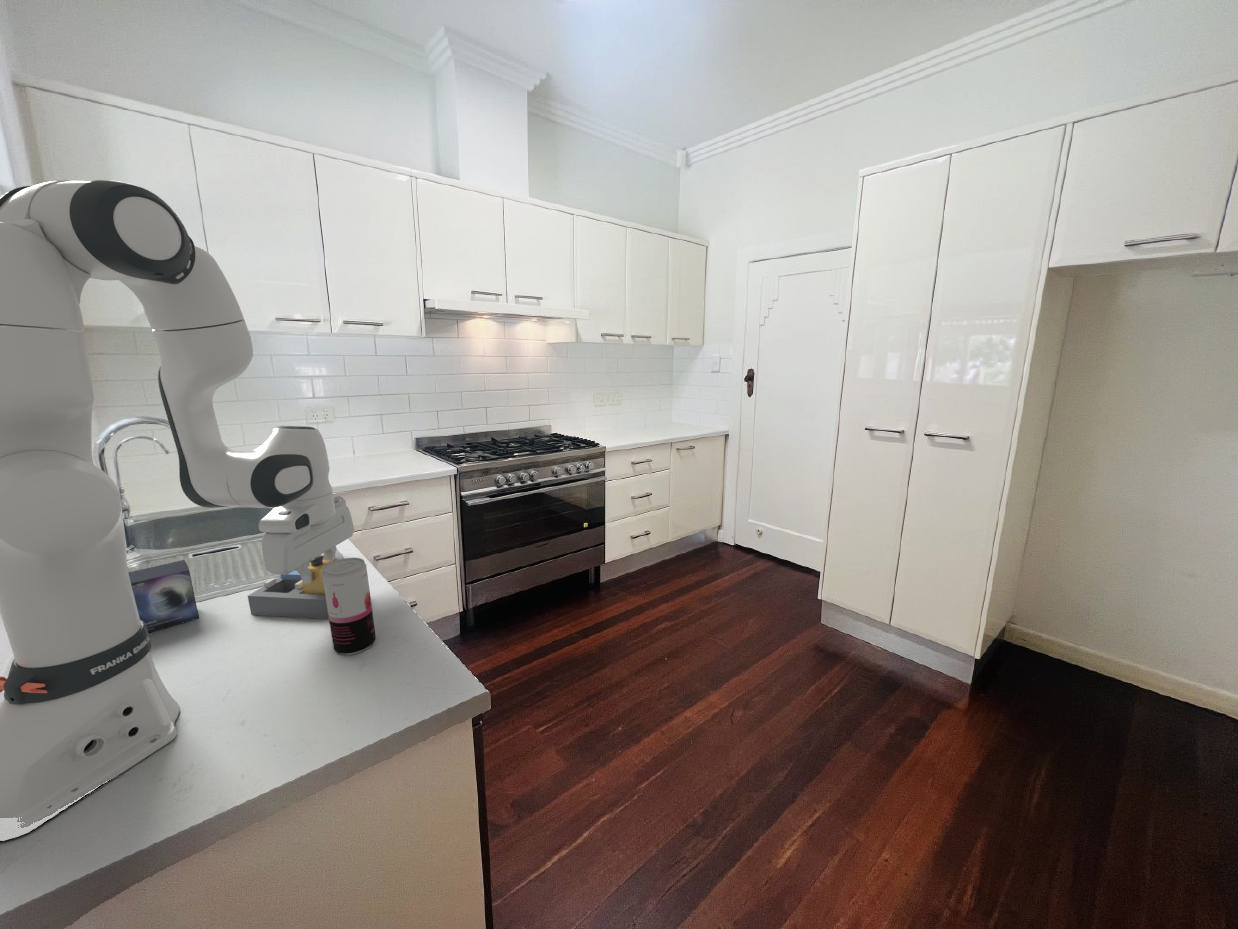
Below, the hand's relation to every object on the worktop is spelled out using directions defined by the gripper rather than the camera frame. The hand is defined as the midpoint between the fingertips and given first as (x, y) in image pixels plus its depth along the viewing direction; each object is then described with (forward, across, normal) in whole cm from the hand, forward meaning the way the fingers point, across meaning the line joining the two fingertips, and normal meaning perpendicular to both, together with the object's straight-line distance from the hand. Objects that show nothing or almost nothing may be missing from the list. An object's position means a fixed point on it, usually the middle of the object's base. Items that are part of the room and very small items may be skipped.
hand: (318, 575), depth 99 cm
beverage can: (+7, +12, +15) cm, 20 cm away
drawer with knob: (+7, 0, 0) cm, 7 cm away
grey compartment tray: (+7, 0, -4) cm, 8 cm away
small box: (+7, +9, -26) cm, 29 cm away
